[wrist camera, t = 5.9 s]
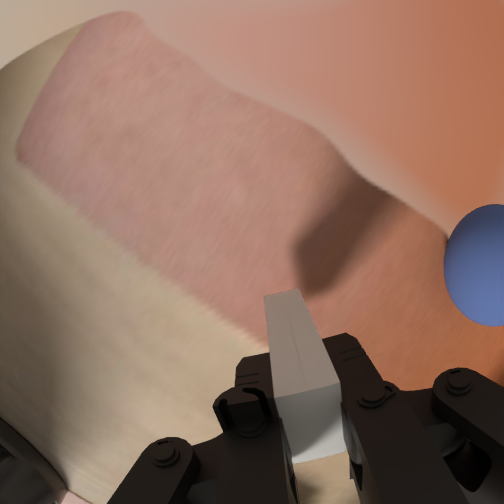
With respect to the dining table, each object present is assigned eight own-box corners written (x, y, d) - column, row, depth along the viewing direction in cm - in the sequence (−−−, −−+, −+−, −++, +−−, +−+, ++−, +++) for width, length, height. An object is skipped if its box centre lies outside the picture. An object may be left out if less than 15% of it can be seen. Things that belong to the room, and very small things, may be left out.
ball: (514, 287, 13) (435, 302, 15) (513, 192, 12) (428, 204, 14) (555, 335, 8) (456, 360, 10) (568, 209, 6) (458, 225, 9)
